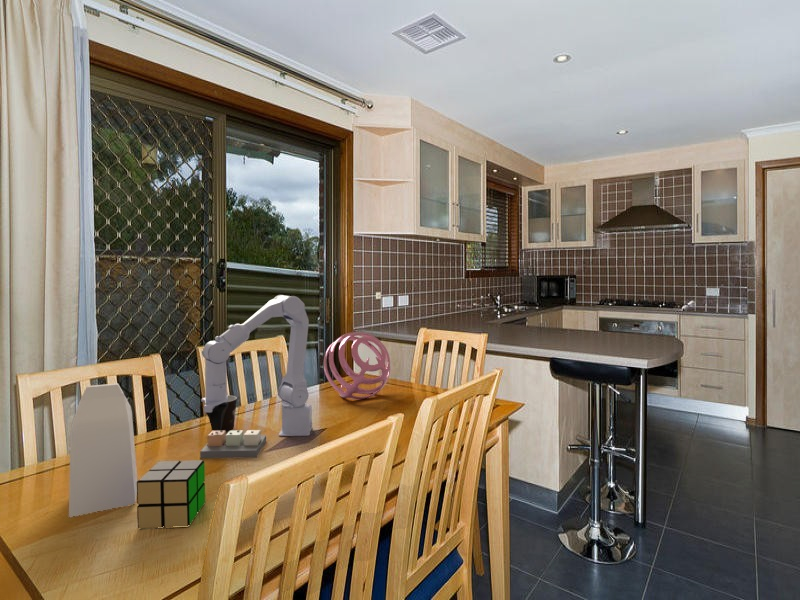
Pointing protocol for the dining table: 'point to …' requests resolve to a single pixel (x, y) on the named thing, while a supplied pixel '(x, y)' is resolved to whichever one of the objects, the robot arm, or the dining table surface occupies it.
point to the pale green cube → (234, 438)
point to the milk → (102, 452)
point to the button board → (233, 450)
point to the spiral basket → (363, 365)
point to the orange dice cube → (217, 438)
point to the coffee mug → (229, 414)
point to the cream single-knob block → (252, 437)
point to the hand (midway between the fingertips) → (216, 429)
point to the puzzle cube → (171, 494)
